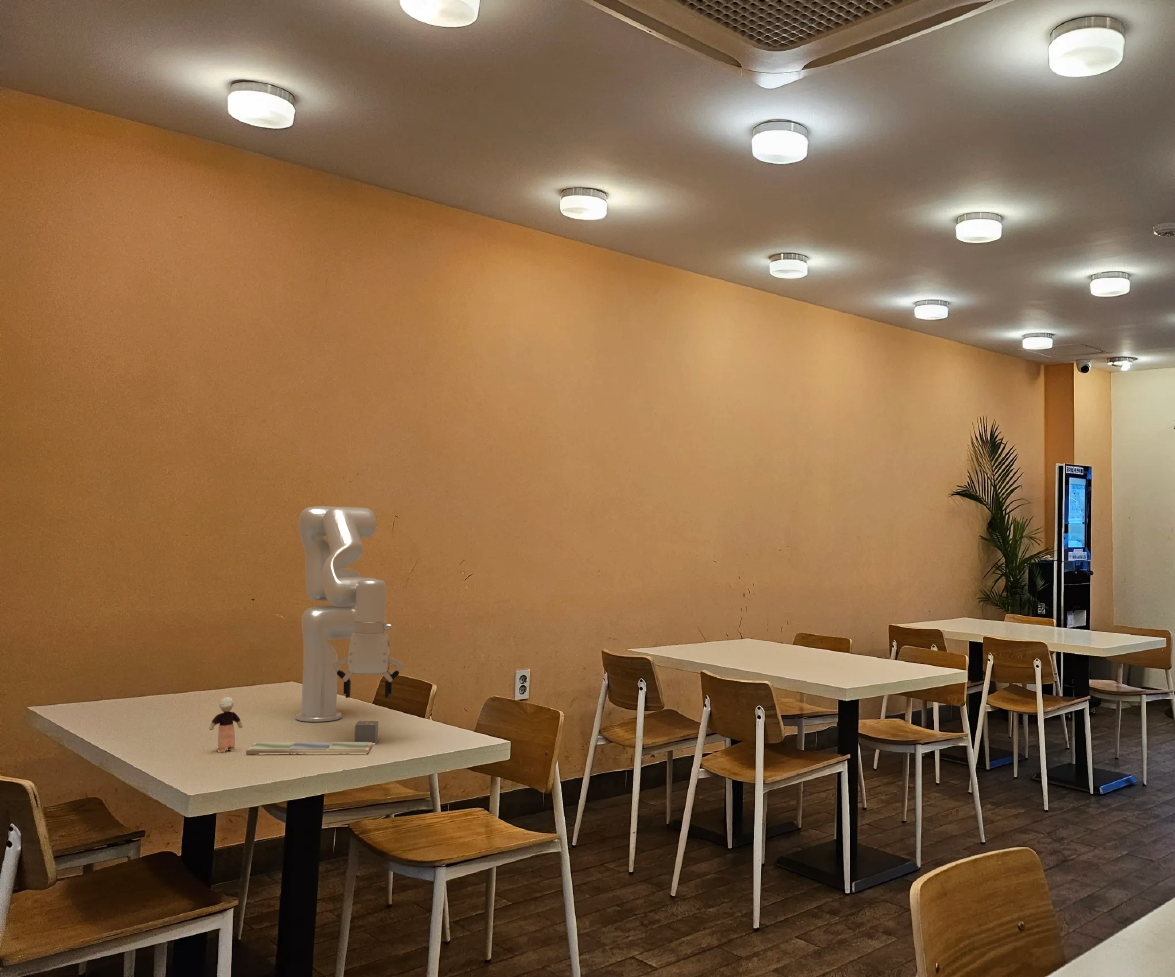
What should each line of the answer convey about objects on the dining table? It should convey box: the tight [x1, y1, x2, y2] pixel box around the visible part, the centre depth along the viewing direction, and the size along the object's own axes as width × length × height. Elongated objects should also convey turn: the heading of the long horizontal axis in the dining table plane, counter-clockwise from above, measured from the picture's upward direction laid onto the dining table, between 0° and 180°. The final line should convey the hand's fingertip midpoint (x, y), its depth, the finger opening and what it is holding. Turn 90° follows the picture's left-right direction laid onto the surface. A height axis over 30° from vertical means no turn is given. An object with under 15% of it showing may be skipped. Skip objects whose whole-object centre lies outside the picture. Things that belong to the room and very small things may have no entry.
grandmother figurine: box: [208, 696, 243, 753], centre depth 227 cm, size 8×4×13 cm, turn 141°
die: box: [354, 720, 379, 744], centre depth 240 cm, size 5×5×5 cm
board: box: [245, 741, 373, 755], centre depth 229 cm, size 9×28×1 cm, turn 96°
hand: (367, 697), depth 240 cm, fingers open, 9 cm apart
